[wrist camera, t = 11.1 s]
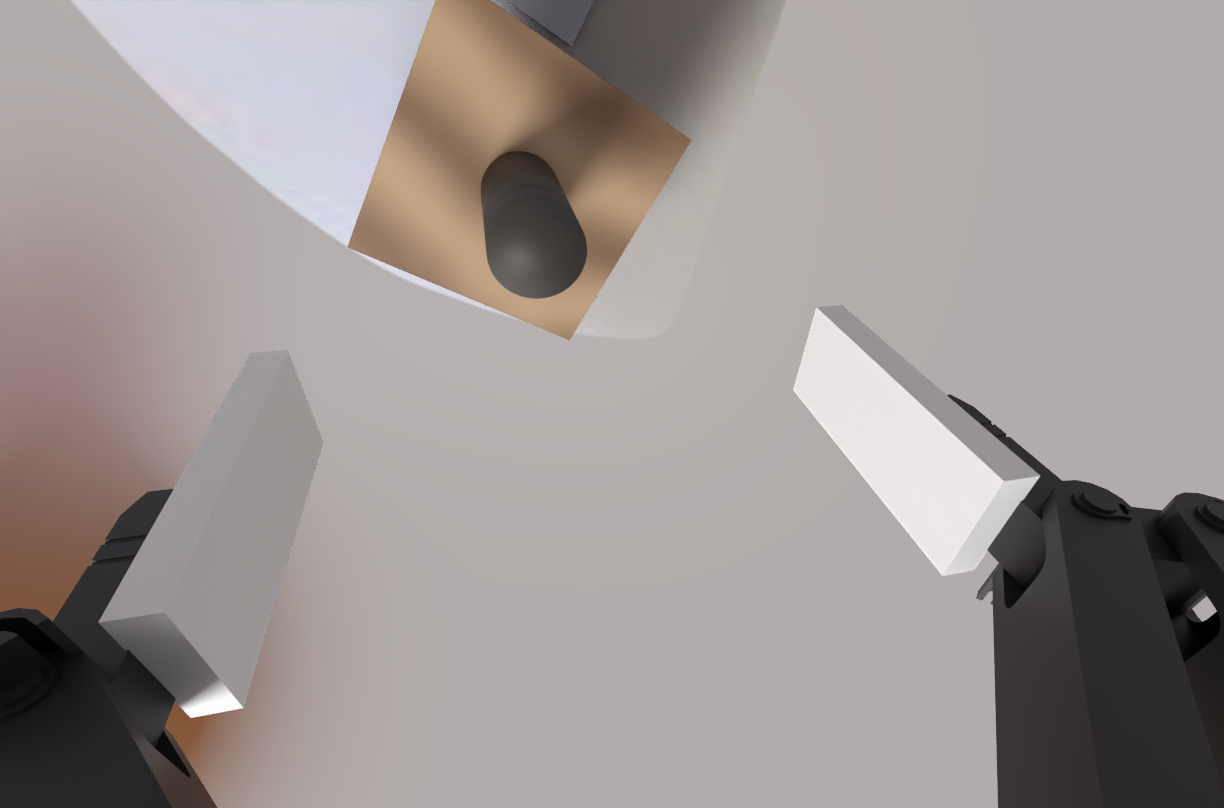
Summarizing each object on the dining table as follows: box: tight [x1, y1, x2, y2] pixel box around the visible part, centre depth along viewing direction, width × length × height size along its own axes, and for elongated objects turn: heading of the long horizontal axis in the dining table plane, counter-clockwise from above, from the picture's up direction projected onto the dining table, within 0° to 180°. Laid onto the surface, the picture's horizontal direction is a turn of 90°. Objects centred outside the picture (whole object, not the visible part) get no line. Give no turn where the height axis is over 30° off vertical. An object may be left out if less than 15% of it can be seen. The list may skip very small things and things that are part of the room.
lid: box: [348, 0, 691, 340], centre depth 25 cm, size 13×13×9 cm
